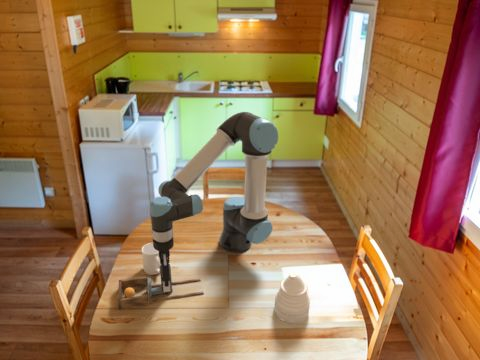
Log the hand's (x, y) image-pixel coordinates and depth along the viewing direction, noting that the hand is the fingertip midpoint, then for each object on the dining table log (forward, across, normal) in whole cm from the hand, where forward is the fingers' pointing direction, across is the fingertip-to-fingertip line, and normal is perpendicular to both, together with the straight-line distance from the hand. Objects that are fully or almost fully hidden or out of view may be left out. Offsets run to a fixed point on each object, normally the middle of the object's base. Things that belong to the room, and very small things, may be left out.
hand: (166, 287), depth 156 cm
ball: (0, 0, -14) cm, 14 cm away
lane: (+2, 0, +3) cm, 4 cm away
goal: (+2, 0, -13) cm, 13 cm away
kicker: (+2, 0, -3) cm, 3 cm away
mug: (+2, -14, -4) cm, 14 cm away
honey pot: (+2, +20, +45) cm, 49 cm away
